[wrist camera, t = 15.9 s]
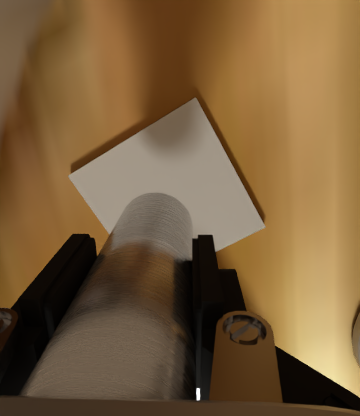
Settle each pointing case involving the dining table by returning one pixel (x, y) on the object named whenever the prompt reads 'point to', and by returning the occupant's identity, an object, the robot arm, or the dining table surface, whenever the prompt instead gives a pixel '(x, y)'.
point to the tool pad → (173, 177)
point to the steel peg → (129, 314)
